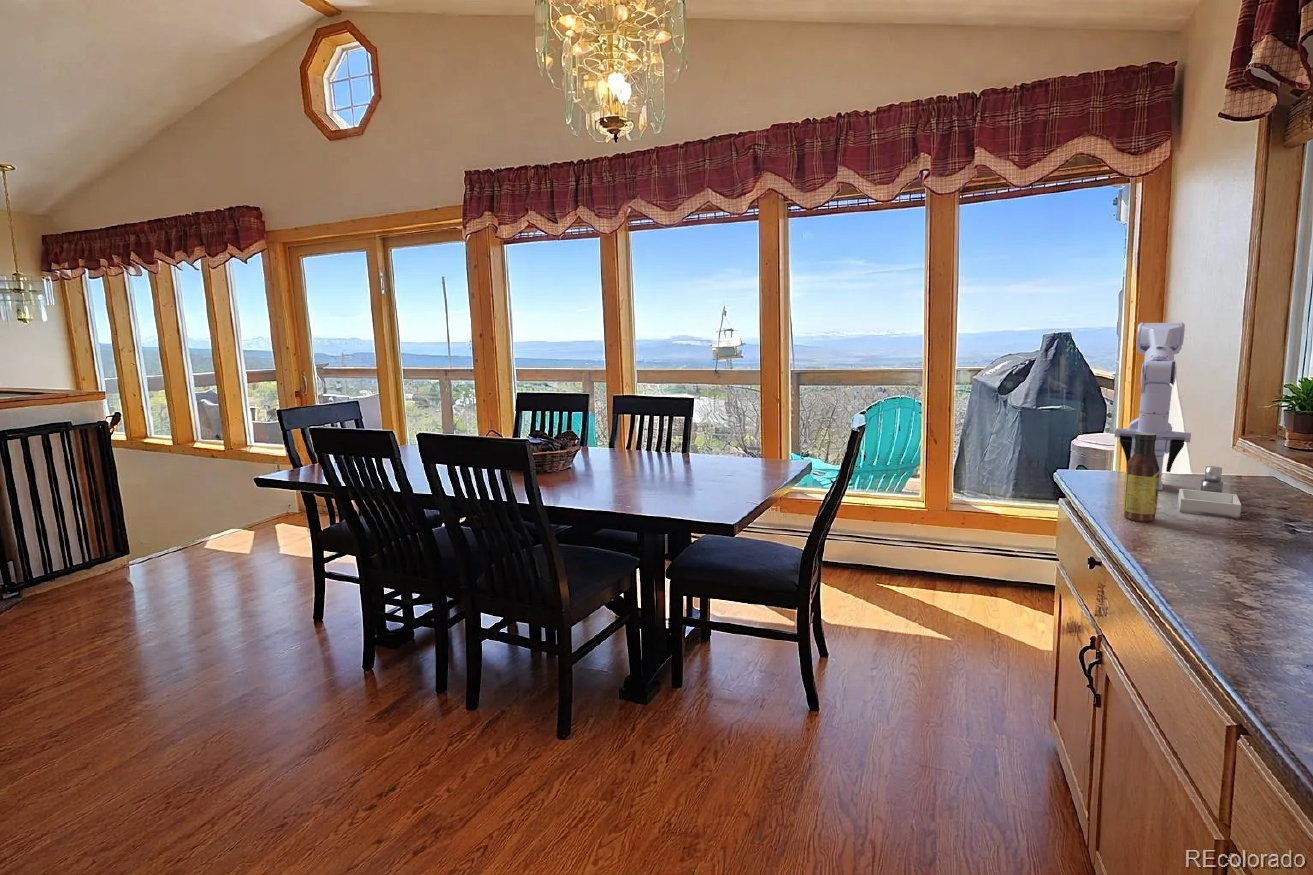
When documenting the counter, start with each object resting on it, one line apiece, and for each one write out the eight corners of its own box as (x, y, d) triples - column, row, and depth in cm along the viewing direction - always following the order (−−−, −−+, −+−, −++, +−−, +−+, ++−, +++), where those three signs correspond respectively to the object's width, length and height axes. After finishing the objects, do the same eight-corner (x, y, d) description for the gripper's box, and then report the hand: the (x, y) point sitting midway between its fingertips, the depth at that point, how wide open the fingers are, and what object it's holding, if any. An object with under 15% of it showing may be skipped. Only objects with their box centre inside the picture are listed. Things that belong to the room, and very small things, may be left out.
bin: (1177, 501, 175) (1179, 488, 174) (1234, 507, 169) (1236, 494, 168) (1179, 511, 166) (1181, 498, 165) (1239, 518, 160) (1241, 505, 159)
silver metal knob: (1199, 492, 177) (1202, 465, 176) (1220, 494, 174) (1224, 466, 173) (1200, 495, 173) (1203, 468, 172) (1222, 498, 171) (1225, 470, 170)
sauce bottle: (1160, 523, 158) (1170, 436, 154) (1129, 522, 159) (1138, 436, 156) (1146, 515, 164) (1155, 431, 161) (1117, 514, 165) (1125, 431, 162)
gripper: (1116, 412, 164) (1111, 469, 167) (1194, 416, 156) (1187, 476, 158) (1117, 409, 170) (1112, 463, 172) (1192, 412, 162) (1185, 470, 164)
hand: (1148, 469), depth 166 cm, fingers open, 7 cm apart
